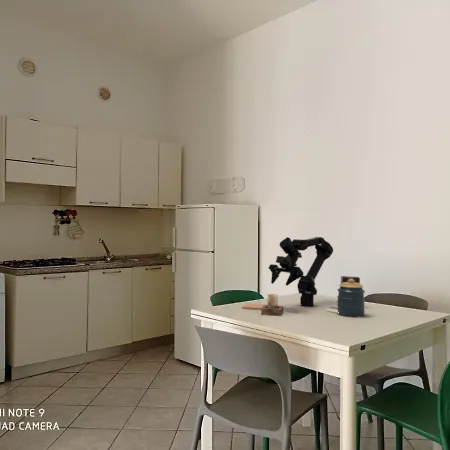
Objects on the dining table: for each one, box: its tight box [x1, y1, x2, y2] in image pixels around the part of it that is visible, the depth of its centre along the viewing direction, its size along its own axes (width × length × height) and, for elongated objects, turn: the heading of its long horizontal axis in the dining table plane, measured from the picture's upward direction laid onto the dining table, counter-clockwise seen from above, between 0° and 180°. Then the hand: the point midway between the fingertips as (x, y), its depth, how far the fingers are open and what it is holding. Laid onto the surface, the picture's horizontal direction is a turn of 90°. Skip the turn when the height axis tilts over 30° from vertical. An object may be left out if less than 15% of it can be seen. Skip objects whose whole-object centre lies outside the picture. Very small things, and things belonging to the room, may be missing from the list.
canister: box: [336, 279, 366, 318], centre depth 215 cm, size 13×13×18 cm
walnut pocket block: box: [260, 304, 284, 317], centre depth 214 cm, size 10×10×3 cm
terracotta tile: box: [241, 303, 267, 311], centre depth 229 cm, size 11×11×1 cm
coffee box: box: [340, 275, 361, 284], centre depth 236 cm, size 9×6×16 cm
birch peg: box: [266, 293, 279, 309], centre depth 214 cm, size 5×5×9 cm
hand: (278, 284), depth 220 cm, fingers open, 9 cm apart
